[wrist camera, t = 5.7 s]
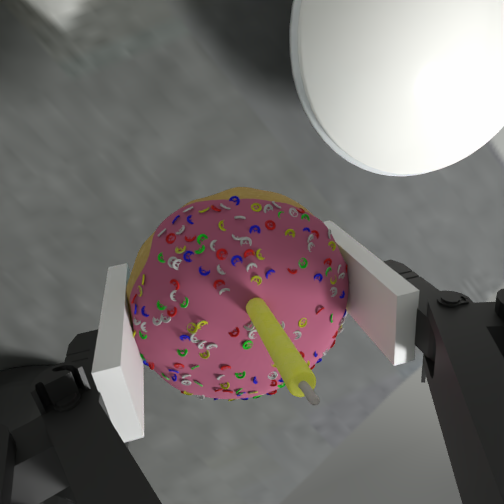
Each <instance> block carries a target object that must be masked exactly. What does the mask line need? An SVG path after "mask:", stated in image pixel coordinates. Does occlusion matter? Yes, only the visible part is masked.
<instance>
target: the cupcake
mask: <svg viewBox="0 0 504 504" xmlns="http://www.w3.org/2000/svg"><path fill="white" fill-rule="evenodd" d="M349 283H350V281H349V277H348V268H347V264H346V262H345V260H344V259H343V257H342V255H341V253H340V251H339V248H338V246H337V244H336V242H335V240H334V238H333V236H332V234H331V230H330V229H328V228H327V226H326V225H325V224H324V223H323V222H322V221H321V220H319V219H318V218H316V217H315V216H314V215H313V214H311V213H310V212H309V211H308V210H307V209H306V208H304V207H303V206H302V205H300V204H299V203H297V202H295V201H294V200H292V199H290V198H288V197H286V196H284V195H281V194H278V193H274V192H269V191H263V190H258V189H253V188H248V187H236V188H232V189H228V190H225V191H223V192H220V193H217V194H214V195H212V196H208V197H205V198H201V199H197V200H193V201H191V202H189V203H187V204H186V205H184V206H183V207H182V208H180V209H179V210H177V211H176V212H174V213H173V214H171V215H170V216H169V217H167V218H166V219H165V220H164V221H163V222H162V223H161V224H160V225H159V227H158V228H157V229H156V231H155V232H154V233H153V234H152V235H151V236H150V237H149V238H148V239H147V240H146V241H145V243H144V244H143V245H142V247H141V248H140V250H139V252H138V255H137V257H136V260H135V263H134V266H133V269H132V272H131V274H130V277H129V280H128V283H127V288H126V296H127V303H128V308H129V313H130V317H131V321H132V325H133V338H135V341H136V344H137V347H138V350H139V352H140V356H141V358H142V359H144V361H143V363H144V364H145V365H147V366H149V367H150V369H151V370H153V369H154V370H155V371H156V372H157V373H158V374H159V375H160V376H161V377H162V378H163V379H164V380H165V381H166V382H168V383H169V384H170V385H172V386H173V387H175V388H177V389H179V390H181V393H183V394H186V395H192V394H193V395H196V397H197V398H199V399H204V398H205V397H210V398H214V400H217V399H229V400H228V401H233V400H235V399H242V400H248V398H249V397H253V399H254V398H258V397H260V396H262V395H264V394H267V395H272V394H275V393H276V392H277V390H276V389H278V388H282V387H284V386H285V385H286V386H287V388H288V390H289V392H290V393H291V394H292V395H294V396H297V397H304V396H305V397H306V398H307V400H308V401H309V403H310V404H312V405H318V404H319V402H320V399H319V397H318V396H317V395H316V394H315V392H314V391H313V390H314V388H315V385H316V378H315V375H314V374H313V372H312V371H311V370H312V369H313V368H314V367H315V363H319V362H320V361H322V359H321V357H322V356H323V355H326V354H327V351H328V350H329V349H330V348H332V347H333V346H334V344H335V338H336V336H337V334H339V333H340V332H341V331H342V330H343V328H341V327H342V325H343V323H344V322H345V318H346V316H347V314H348V311H347V310H346V306H347V301H348V294H349ZM345 314H346V315H345ZM342 320H343V321H342ZM318 360H319V361H318ZM146 362H147V363H148V364H147V363H146ZM272 392H273V393H272ZM199 396H201V397H199Z"/></svg>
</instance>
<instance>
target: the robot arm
mask: <svg viewBox="0 0 504 504" xmlns="http://www.w3.org/2000/svg"><path fill="white" fill-rule="evenodd" d="M323 223H324V224H325V225H326V226H327V228H328V229H330V230H331V234H332V236H333V238H334V240H335V242H336V244H337V246H338V248H339V251H340V253H341V255H342V257H343V259H344V260H345V262H346V264H347V268H348V277H349V281H350V283H349V294H348V301H347V306H346V310H347V311H348V313H349V314H350V315H351V316H352V317H353V319H354V320H355V321H356V322H357V323H358V324H359V326H360V327H361V328H362V329H363V330H364V331H365V333H366V334H367V335H368V336H369V337H370V338H371V340H372V341H373V342H374V343H375V344H376V345H377V347H378V348H379V349H380V350H381V351H382V352H383V353H384V355H385V356H386V357H387V358H388V359H389V360H390V362H391V363H392V364H393V365H394V366H395V365H399V364H402V363H406V362H409V361H413V360H415V346H417V347H418V348H419V349H420V350H421V351H422V352H423V353H424V354H423V366H422V380H421V382H425V377H427V381H428V384H429V387H430V391H431V395H432V398H433V402H434V405H435V409H436V412H437V416H438V419H439V423H440V426H441V430H442V433H443V437H444V440H445V444H446V448H447V451H448V455H449V458H450V461H451V465H452V468H453V472H454V476H455V479H456V483H457V486H458V489H459V493H460V497H461V500H462V503H463V504H504V289H501V290H500V291H498V292H497V297H496V302H480V303H473V302H472V300H471V299H470V298H469V297H467V296H465V295H463V294H461V293H458V292H454V291H439V290H438V289H436V288H435V287H434V286H432V285H431V284H430V283H428V282H427V281H426V280H424V279H423V278H421V277H419V275H417V274H416V273H415V272H412V270H411V269H409V268H408V267H407V266H405V265H404V264H402V263H399V262H396V261H393V260H387V261H381V260H380V259H379V258H378V257H376V256H375V255H374V254H373V253H371V252H370V251H369V250H367V249H366V248H365V247H364V246H362V245H361V244H360V243H359V242H357V241H356V240H355V239H354V238H352V237H351V236H350V235H348V234H347V233H346V232H345V231H343V230H342V229H341V228H340V227H338V226H337V225H336V224H335V223H333V222H332V221H331V220H330V221H325V222H323ZM129 277H130V271H129V267H128V263H126V264H121V265H116V266H111V267H108V274H107V280H106V286H105V292H104V298H103V304H102V311H101V317H100V323H99V329H98V330H94V331H89V332H85V333H81V334H77V336H76V337H75V338H74V339H73V340H72V342H71V343H70V344H69V347H68V351H67V354H66V356H67V357H66V358H65V362H64V363H60V364H57V365H54V366H26V367H18V368H13V369H8V370H5V371H1V372H0V504H162V503H161V502H160V500H159V498H158V497H157V495H156V494H155V492H154V490H153V489H152V487H151V486H150V484H149V482H148V481H147V479H146V477H145V476H144V474H143V473H142V471H141V469H140V468H139V466H138V464H137V463H136V461H135V460H134V458H133V456H132V455H131V453H130V452H129V450H128V441H132V440H135V439H139V438H142V437H144V377H143V359H142V358H141V356H140V352H139V350H138V347H137V344H136V341H135V338H133V325H132V321H131V317H130V313H129V308H128V303H127V296H126V288H127V283H128V280H129Z"/></svg>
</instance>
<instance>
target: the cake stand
mask: <svg viewBox="0 0 504 504" xmlns="http://www.w3.org/2000/svg"><path fill="white" fill-rule="evenodd" d="M289 42H290V60H291V68H292V75H293V79H294V83H295V87H296V91H297V94H298V97H299V100H300V102H301V105H302V107H303V110H304V112H305V114H306V116H307V118H308V119H309V121H310V123H311V125H312V127H313V128H314V129H315V131H316V132H317V133H318V135H319V136H320V137H321V139H322V140H323V141H324V142H325V143H326V144H327V145H328V146H329V147H330V148H331V149H332V150H333V151H334V152H335V153H337V154H338V155H339V156H341V157H342V158H343V159H345V160H346V161H348V162H350V163H352V164H354V165H356V166H358V167H360V168H362V169H365V170H368V171H371V172H373V173H377V174H382V175H388V176H411V175H419V174H423V173H427V172H431V171H435V170H438V169H441V168H444V167H446V166H449V165H451V164H454V163H456V162H458V161H460V160H461V159H463V158H465V157H467V156H469V155H470V154H472V153H473V152H475V151H476V150H477V149H479V148H480V147H482V146H483V145H484V144H485V143H487V142H488V141H489V140H490V139H491V138H492V137H494V136H495V135H496V134H497V133H498V131H500V130H501V128H502V127H503V126H504V0H293V4H292V9H291V19H290V30H289Z"/></svg>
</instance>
